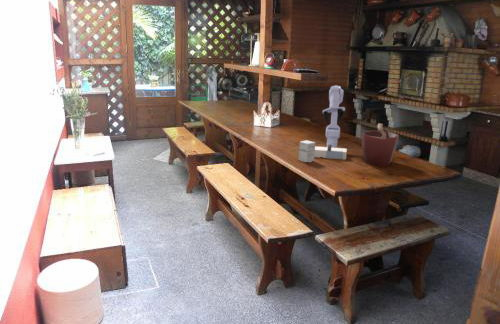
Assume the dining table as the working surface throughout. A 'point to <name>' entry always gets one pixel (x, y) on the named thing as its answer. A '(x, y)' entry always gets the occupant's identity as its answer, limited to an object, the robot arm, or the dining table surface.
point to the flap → (333, 153)
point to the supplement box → (306, 151)
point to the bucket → (378, 146)
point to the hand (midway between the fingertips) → (332, 122)
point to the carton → (322, 151)
